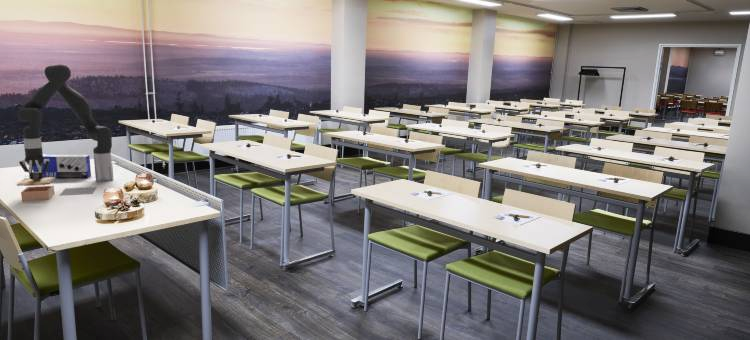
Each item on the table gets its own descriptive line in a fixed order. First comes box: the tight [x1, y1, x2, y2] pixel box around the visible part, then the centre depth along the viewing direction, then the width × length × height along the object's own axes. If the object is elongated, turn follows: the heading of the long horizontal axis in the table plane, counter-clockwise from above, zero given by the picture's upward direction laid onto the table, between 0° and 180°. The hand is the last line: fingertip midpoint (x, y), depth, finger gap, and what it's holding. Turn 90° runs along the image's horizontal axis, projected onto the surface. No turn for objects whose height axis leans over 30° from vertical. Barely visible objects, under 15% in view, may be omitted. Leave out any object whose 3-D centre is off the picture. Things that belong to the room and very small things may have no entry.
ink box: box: [32, 154, 92, 180], centre depth 310 cm, size 30×7×14 cm, turn 101°
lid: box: [16, 171, 56, 187], centre depth 263 cm, size 14×14×6 cm
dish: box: [20, 185, 55, 203], centre depth 264 cm, size 12×12×5 cm
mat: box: [58, 186, 98, 197], centre depth 279 cm, size 16×16×1 cm
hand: (36, 179), depth 263 cm, fingers closed on lid, 3 cm apart
